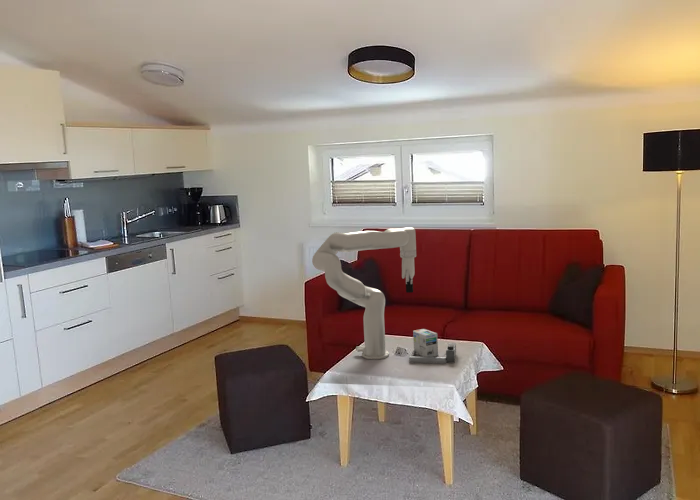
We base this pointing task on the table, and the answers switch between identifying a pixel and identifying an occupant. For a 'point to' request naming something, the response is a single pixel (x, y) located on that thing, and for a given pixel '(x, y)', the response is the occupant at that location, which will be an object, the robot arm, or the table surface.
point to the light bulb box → (425, 343)
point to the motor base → (448, 357)
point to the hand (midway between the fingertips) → (409, 292)
